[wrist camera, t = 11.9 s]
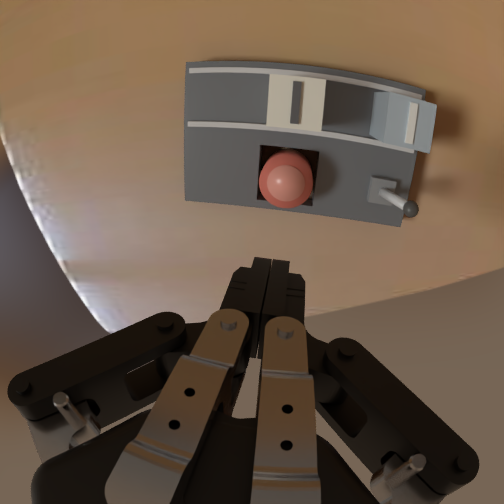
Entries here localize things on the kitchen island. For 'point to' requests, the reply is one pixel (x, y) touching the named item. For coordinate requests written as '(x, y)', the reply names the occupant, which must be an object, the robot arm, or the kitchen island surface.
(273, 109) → the cream fader knob
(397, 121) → the slate-blue fader knob
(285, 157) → the red push button
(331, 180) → the panel
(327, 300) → the kitchen island surface
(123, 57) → the kitchen island surface
